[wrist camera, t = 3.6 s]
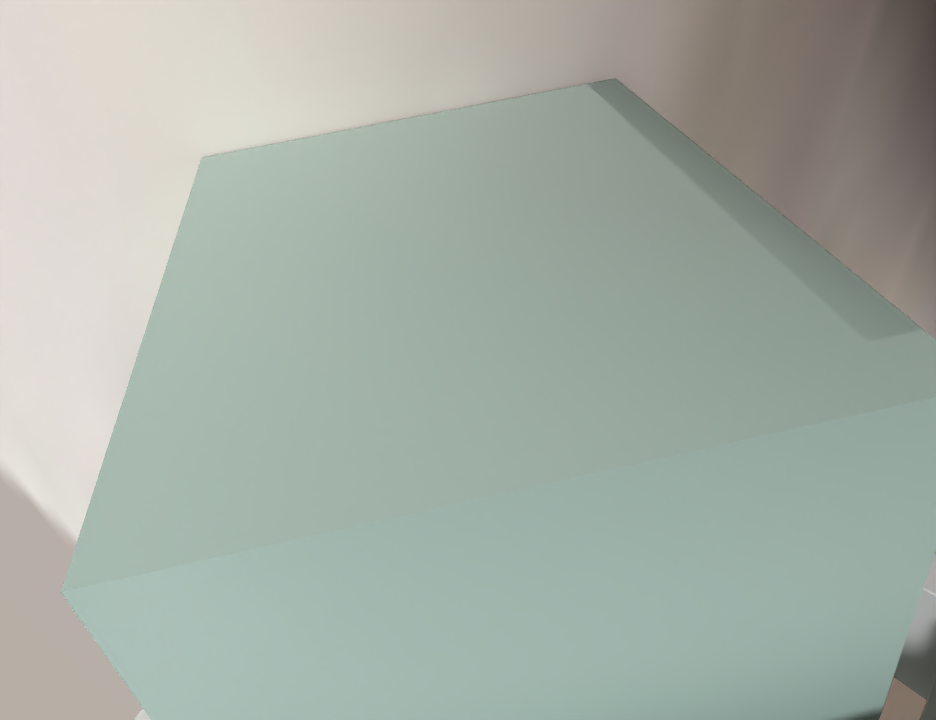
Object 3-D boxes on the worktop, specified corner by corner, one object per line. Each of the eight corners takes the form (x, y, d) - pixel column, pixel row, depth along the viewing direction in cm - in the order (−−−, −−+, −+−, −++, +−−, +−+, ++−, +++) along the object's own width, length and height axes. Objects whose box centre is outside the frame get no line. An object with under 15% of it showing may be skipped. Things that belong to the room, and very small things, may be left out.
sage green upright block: (201, 157, 13) (60, 592, 5) (615, 79, 13) (991, 385, 6) (351, 583, 19) (377, 1039, 12) (625, 521, 19) (809, 925, 12)
